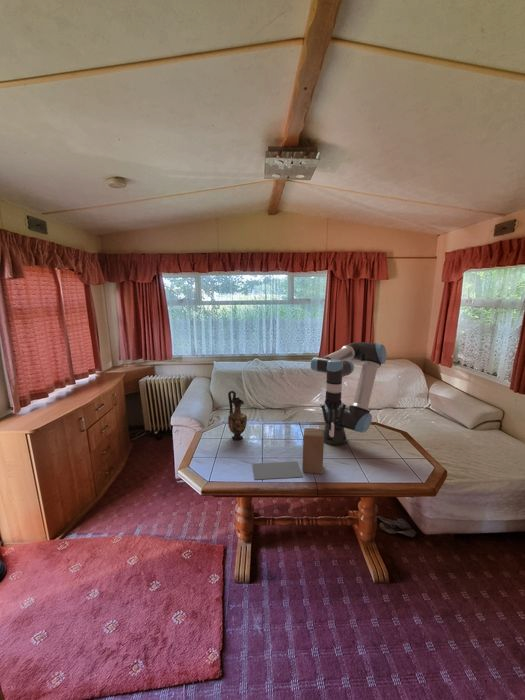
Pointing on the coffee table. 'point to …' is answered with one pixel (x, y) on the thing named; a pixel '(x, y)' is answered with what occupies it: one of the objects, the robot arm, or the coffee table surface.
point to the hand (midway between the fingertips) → (331, 435)
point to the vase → (236, 417)
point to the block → (313, 450)
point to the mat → (276, 470)
